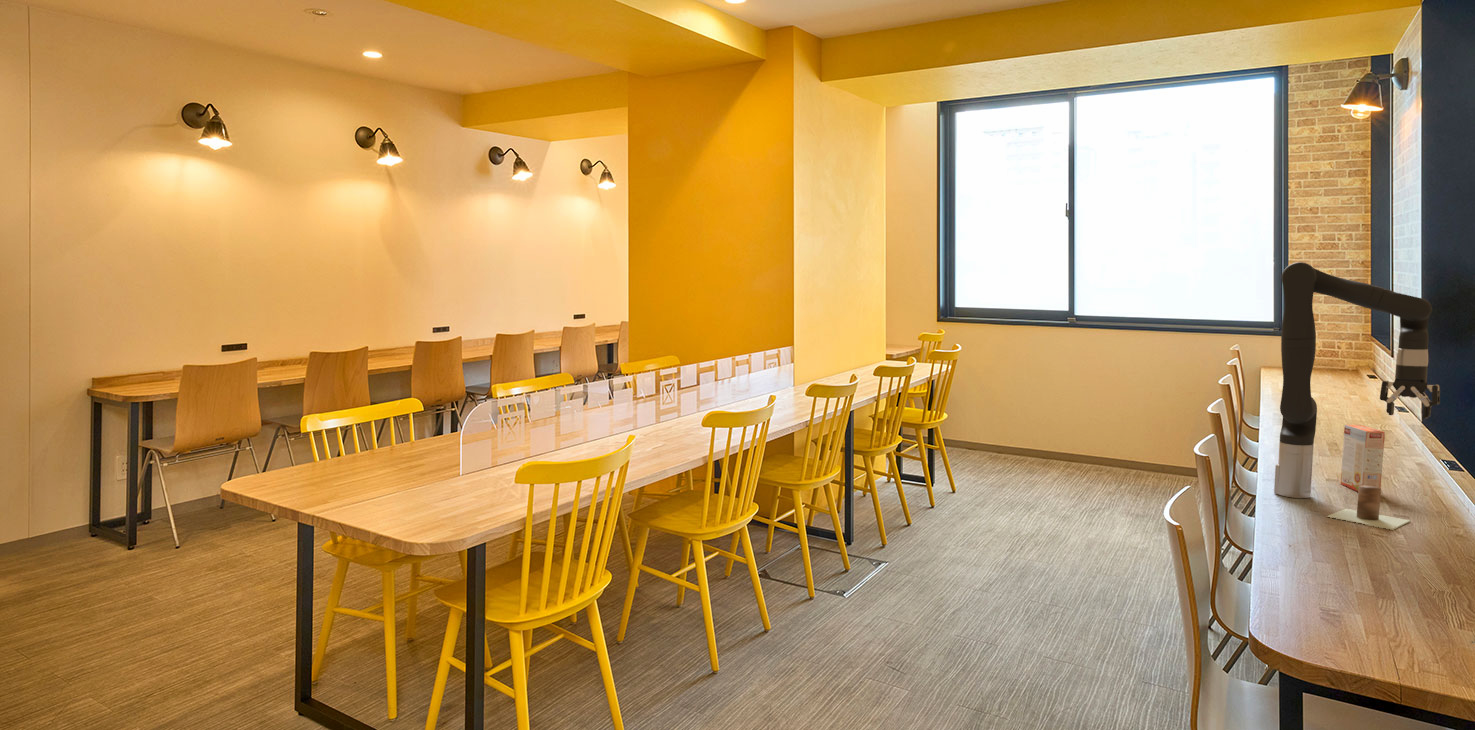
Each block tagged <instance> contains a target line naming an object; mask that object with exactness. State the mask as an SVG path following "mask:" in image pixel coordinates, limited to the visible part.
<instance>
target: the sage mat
mask: <svg viewBox="0 0 1475 730" xmlns="http://www.w3.org/2000/svg"><path fill="white" fill-rule="evenodd" d="M1327 517H1330V518H1329V519H1332V518H1336V519H1335V520H1337V519H1341V520H1340V521H1342V520H1346V521H1345V522H1347V521H1353V522H1356V523H1355V524H1358V523H1362V524H1361V525H1363V524H1365V526H1369V527H1373V526H1374V528H1378V527H1379V528H1378V529H1383V528H1386V529H1385V530H1389V529H1390V531H1394V530H1396V529H1398V528H1401V527H1402V526H1404V525H1407V524H1409V523H1410V522H1411V520H1410V519H1405V518H1399V517H1394V516H1388V515H1383V514H1379V519H1378V520H1369V519H1363V518H1359V517H1357V509H1350V508H1343V509H1342V510H1339V511H1336V512H1334V513H1331V514H1328V515H1327V516H1326V518H1327Z"/></svg>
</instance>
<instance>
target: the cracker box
mask: <svg viewBox="0 0 1475 730" xmlns="http://www.w3.org/2000/svg"><path fill="white" fill-rule="evenodd" d="M1343 431H1344V432H1343V445H1342V457H1341V471H1340V472H1341V473H1340V485H1342V486H1344V487H1346V486H1347V488H1349V489H1351V490H1353V491H1355V492H1359V486H1360V485H1365V486H1374V487H1379V488H1381V487H1382V475H1383V462H1384V459H1383V458H1384V451H1385V450H1384V448H1385V438H1386V437H1385V435H1386V432H1385V431H1383V430H1380V429H1377V428H1373V427H1369V426H1367V425H1362V424H1344V430H1343ZM1381 489H1382V488H1381Z"/></svg>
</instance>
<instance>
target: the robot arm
mask: <svg viewBox="0 0 1475 730" xmlns="http://www.w3.org/2000/svg"><path fill="white" fill-rule="evenodd" d="M1281 282H1282V287H1283V296H1284V297H1283V298H1284V312H1283V318H1282V325H1281V336H1280V342H1281V343H1280V347H1281V348H1280V352H1281V368H1282V377H1283V378H1282V390H1281V398H1280V399H1281V400H1280V405H1279V412H1280V415H1281V416H1282V423H1281V430H1280V433H1279V444H1278V445H1279V447H1278V464H1275V470H1274V486H1273V487H1274V489H1273V494H1277V495H1280V496H1282V497H1286V498H1287V497H1288V498H1293V499H1309V498H1310V497H1311V493H1312V476H1313V462H1314V461H1313V460H1314V445H1315V443H1314V441H1315V436H1316V429H1317V428H1316V427H1317V419H1318V418H1317V415H1318V414H1317V413H1318V405H1317V402H1316V400H1315V399H1314V398H1313V397H1312V390H1311V378H1312V373H1313V369H1314V364H1315V358H1316V352H1317V351H1316V349H1317V348H1316V347H1317V345H1316V344H1317V334H1316V331H1317V330H1316V323H1315V317H1314V309H1313V302H1314V301H1313V299H1314V293H1316V294H1320V295H1325V296H1328V297H1332V298H1336V299H1338V300H1341V301H1344V302H1347V303H1350V304H1353V305H1356V306H1359V307H1362V308H1365V309H1369V310H1371V311H1372V310H1373V311H1375V312H1376V311H1377V312H1381V313H1386V314H1390V315H1393V316H1395V317H1399V329H1400V330H1399V331H1400V332H1399V336H1398V349H1397V353H1396V360H1395V372H1394V373H1395V375H1394V376H1395V377H1394V381H1389V380H1383V381H1381V387H1380V393H1379V400H1380V401H1384V402H1386V411H1385V412H1386V413H1387V414H1388V416H1394V413H1395V401H1397V399H1398V398H1400V397H1402V398H1408V397H1409V398H1413V399H1415V398H1418V400H1419V401H1421V402H1422V404H1423V411H1422V420H1423V419H1424V420H1427V419H1429V418H1430V417H1431V415H1432V407H1433V406H1437V405H1440V404H1441V386H1440V384H1428V382H1427V381H1428V367H1429V366H1428V365H1429V339H1430V338H1429V337H1430V336H1429V331H1428V325H1429V317H1430V316H1431V314H1432V311H1433V308H1432V304H1431V303H1430V302H1429V301H1428V300H1426V299H1425V298H1422V297H1417V296H1413V295H1408V294H1405V293H1399V292H1396V291H1393V290H1391V289H1387V288H1384V287H1380V286H1377V285H1374V284H1369V283H1366V282H1361V281H1357V280H1351V279H1346V278H1342V277H1339V276H1336V275H1332V274H1330V273H1326V272H1323V271H1321V270H1319V269H1317V268H1314V267H1313V266H1312V265H1311V264H1309V263H1306V262H1302V261H1297V262H1293V263H1291V264H1289V265H1287V266H1286V267H1285V268H1284V270H1283V271H1282V273H1281ZM1392 386H1393V387H1392ZM1390 388H1394V389H1395V392H1393V393H1392V394H1391V395H1390V396H1389V389H1390ZM1427 390H1429V392H1430V393H1431V400H1430V399H1429V396H1428V395H1427V394H1426V393H1425V392H1426V391H1427Z"/></svg>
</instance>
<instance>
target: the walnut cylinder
mask: <svg viewBox="0 0 1475 730" xmlns="http://www.w3.org/2000/svg"><path fill="white" fill-rule="evenodd" d="M1381 494H1382V488H1379V487H1374V486H1365V485H1360V486H1359V492H1358V493H1357V504H1356V505H1357V506H1356V511H1357V517H1359V518H1363V519H1369V520H1378V519H1379V515H1380V507H1381V497H1382V495H1381Z"/></svg>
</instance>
